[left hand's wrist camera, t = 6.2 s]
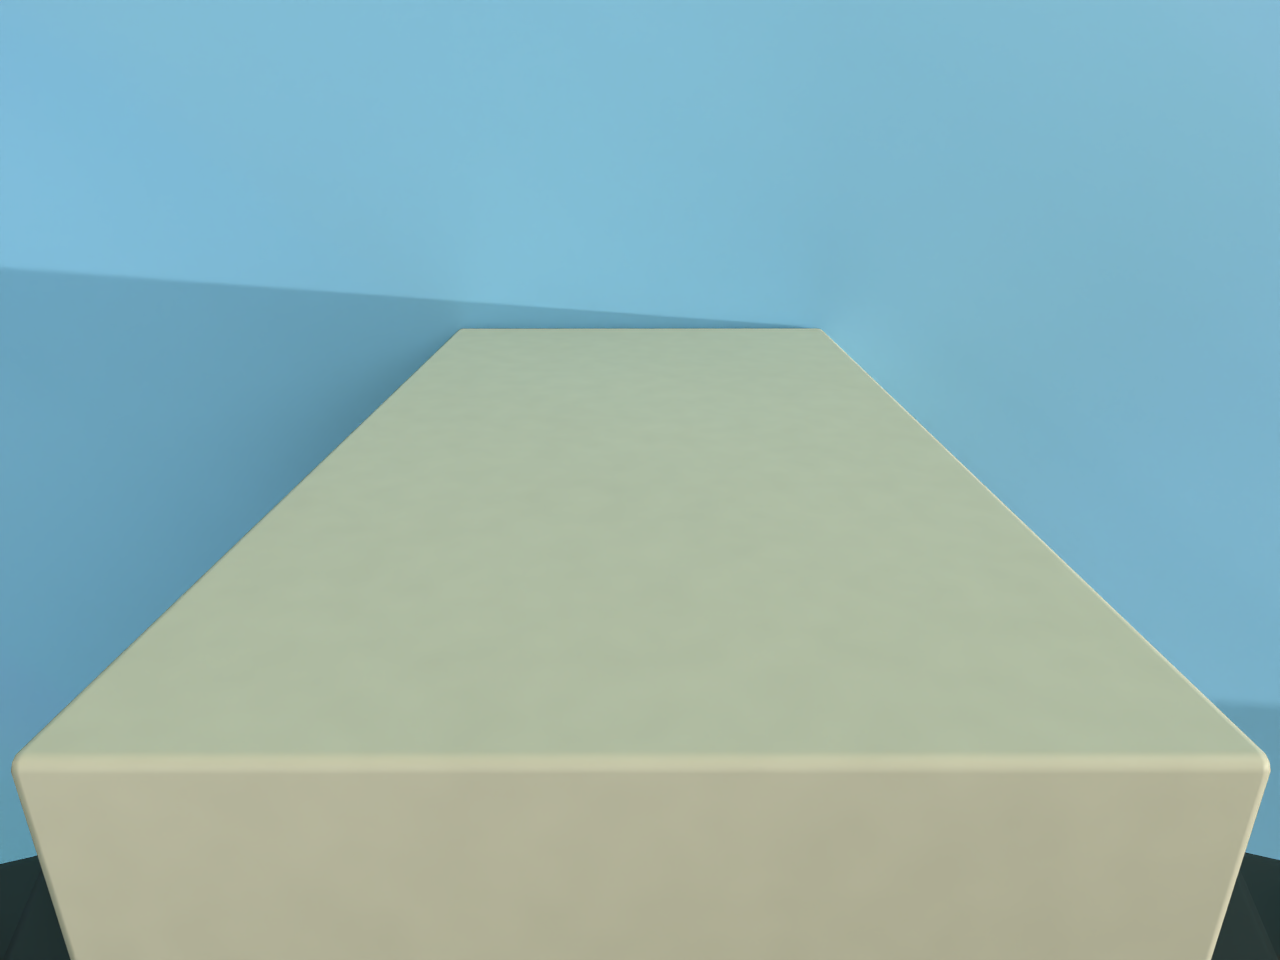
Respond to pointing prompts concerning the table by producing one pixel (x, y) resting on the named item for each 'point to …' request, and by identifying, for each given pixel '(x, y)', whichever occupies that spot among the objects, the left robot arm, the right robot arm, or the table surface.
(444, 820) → the box
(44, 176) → the table surface
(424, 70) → the table surface
